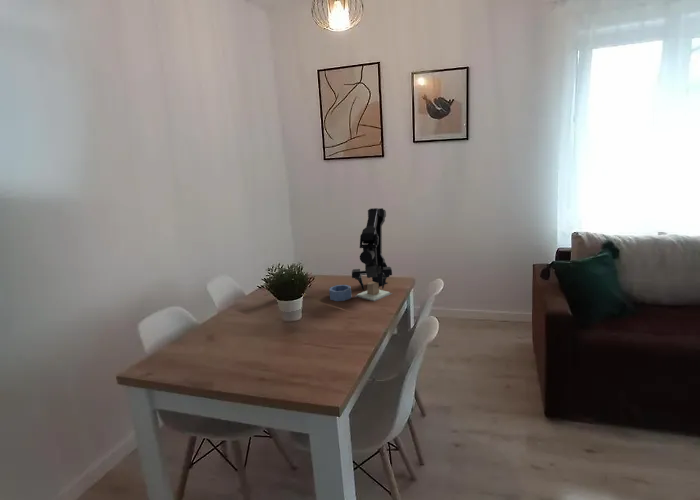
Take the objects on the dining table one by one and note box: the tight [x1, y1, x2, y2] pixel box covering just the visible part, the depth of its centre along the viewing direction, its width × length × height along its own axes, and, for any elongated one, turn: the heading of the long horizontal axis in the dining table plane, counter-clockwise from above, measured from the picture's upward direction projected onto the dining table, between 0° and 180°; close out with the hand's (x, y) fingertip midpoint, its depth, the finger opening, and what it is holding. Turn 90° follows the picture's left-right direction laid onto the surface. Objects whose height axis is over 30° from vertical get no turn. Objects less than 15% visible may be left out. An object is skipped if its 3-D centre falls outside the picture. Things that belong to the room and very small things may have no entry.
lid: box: [356, 281, 391, 301], centre depth 217 cm, size 11×11×6 cm
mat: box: [354, 292, 393, 302], centre depth 218 cm, size 13×13×1 cm
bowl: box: [328, 284, 352, 302], centre depth 218 cm, size 10×10×5 cm
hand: (373, 289), depth 217 cm, fingers open, 9 cm apart
